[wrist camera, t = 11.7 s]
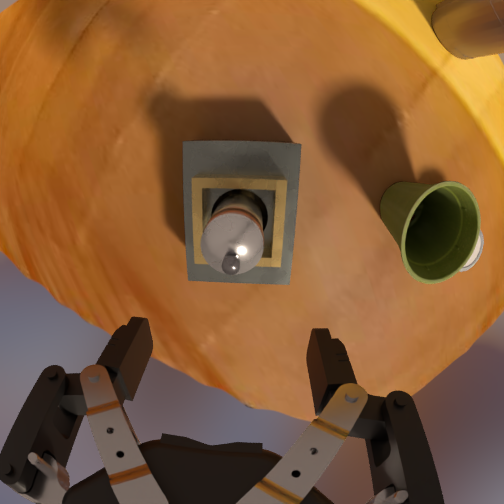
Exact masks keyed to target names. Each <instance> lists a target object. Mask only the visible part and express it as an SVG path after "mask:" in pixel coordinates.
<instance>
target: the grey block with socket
mask: <svg viewBox="0 0 504 504" xmlns="http://www.w3.org/2000/svg"><path fill="white" fill-rule="evenodd" d="M300 158H301V144H298V143H291V142H276V141H254V140H192V141H183V197H184V223H185V242H186V258H187V272H188V280H189V281H207V282H228V283H252V284H282V285H289V284H290V275H291V266H292V256H293V246H294V235H295V224H296V212H297V200H298V187H299V173H300ZM235 194H242V195H246V196H248V197H250V198H252V199H253V200H254V201H256V203H257V204H258V205H259V207H260V209H261V212H262V224H263V233H264V248H263V254H262V257H261V259H260V261H259V262H258V263H257V265H256V266H255V267H253V268H252V269H251V270H249V271H247V272H245V273H242V274H236V275H228V274H224V273H221V272H219V271H217V270H215V269H214V268H212V267H211V266H210V265H209V264H208V263H207V262H206V260H205V259H204V257H203V255H202V252H201V246H200V244H201V237H202V234H203V231H204V229H205V227H206V225H207V223H208V221H209V220H210V218H211V217H212V215H213V213H214V211H215V210H216V208H217V206H218V204H219V203H220V202H221V201H222V200H223V199H224V198H226V197H228V196H230V195H235Z"/></svg>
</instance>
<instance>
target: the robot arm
mask: <svg viewBox="0 0 504 504" xmlns="http://www.w3.org/2000/svg"><path fill="white" fill-rule="evenodd" d="M436 7H437V9H436V10H435V11H434V12H433V15H432V25H433V28H434V31H435V33H436V35H437V37H438V39H439V40H440V42H441V43H442V44H443V46H444V47H445V48H446V49H447V50H448V51H449V52H450V53H451V54H453V55H454V56H456V57H458V58H460V59H465V60H466V59H471V58H476V57H482V56H488V55H494V54H500V53H504V0H444V1H442V2H440V3H439V4H437V5H436ZM152 350H153V340H152V336H151V331H150V326H149V322H148V319H147V318H142V317H132V318H131V319H130V321H129V322H128V324H127V326H126V325H122V326H121V327H119V328H118V329H117V330H116V331H115V332H114V334H113V335H112V337H111V339H110V340H109V342H108V345H106V347H105V349H104V351H103V352H102V354H101V356H100V357H99V359H98V361H97V363H96V364H95V365H90V366H88V367H86V368H85V369H84V370H83V371H82V372H81V373H73V374H66V373H65V371H64V369H63V368H62V367H61V366H58V365H52V366H49V367H47V368H45V369H44V370H43V372H42V373H41V375H40V376H39V378H38V380H37V382H36V383H35V385H34V387H33V389H32V390H31V392H30V394H29V396H28V398H27V400H26V402H25V403H24V405H23V407H22V409H21V411H20V413H19V415H18V417H17V419H16V421H15V423H14V425H13V427H12V429H11V431H10V433H9V435H8V437H7V440H6V442H5V444H4V446H3V449H2V451H1V454H0V480H1V481H2V482H3V483H5V484H6V485H8V486H9V487H10V488H12V489H13V490H14V491H15V492H17V493H18V494H20V495H22V496H23V497H25V498H26V499H28V500H30V501H31V502H34V503H36V504H334V503H333V502H332V501H331V500H329V499H328V498H327V497H326V496H325V495H324V494H322V493H321V492H320V491H319V490H318V489H317V488H316V487H314V485H315V483H316V482H317V481H318V479H319V478H320V476H321V475H322V474H323V472H324V471H325V469H326V468H327V467H328V465H329V464H330V462H331V461H332V459H333V458H334V456H335V455H336V453H337V452H338V450H339V449H340V447H341V445H342V444H343V442H344V441H345V439H346V437H347V436H351V437H357V438H364V439H365V441H366V446H367V452H368V458H369V464H370V470H371V476H372V482H373V489H374V497H372V498H371V499H370V500H368V502H367V503H366V504H444V499H443V495H442V491H441V487H440V483H439V479H438V475H437V471H436V468H435V464H434V461H433V457H432V454H431V451H430V447H429V444H428V441H427V438H426V435H425V432H424V429H423V426H422V423H421V420H420V417H419V414H418V412H417V409H416V406H415V404H414V401H413V399H412V397H411V396H410V395H409V394H407V393H406V392H403V391H393V392H391V393H389V394H388V395H387V397H379V396H373V395H369V394H367V392H366V390H365V389H364V388H363V387H361V386H360V385H358V384H357V381H356V378H355V375H354V372H353V369H352V366H351V363H350V361H349V357H348V355H347V351H346V349H345V346H344V344H343V343H342V342H341V341H340V340H339V339H338V338H337V339H331V335H330V332H329V329H328V328H313V329H312V331H311V336H310V340H309V345H308V349H307V357H306V360H307V367H308V373H309V379H310V384H311V390H312V396H313V402H314V408H315V414H316V416H318V415H319V416H318V418H317V419H314V420H313V421H312V422H311V424H310V425H309V426H308V427H307V429H306V430H305V431H304V432H303V434H302V435H301V436H300V437H299V439H298V440H297V441H296V442H295V444H294V445H293V446H292V447H291V448H290V450H289V451H288V452H287V453H286V454H285V455H284V457H282V456H280V455H278V454H276V453H274V452H271V451H268V450H264V449H262V443H244V442H235V443H229V444H221V445H213V446H212V445H207V444H204V443H201V442H198V441H195V440H192V439H190V438H187V437H181V436H175V435H169V434H163V433H162V437H161V439H160V440H152V441H148V442H145V443H142V444H141V443H140V441H139V439H138V437H137V435H136V433H135V431H134V429H133V427H132V425H131V423H130V420H129V418H128V416H127V414H126V411H125V409H124V407H123V403H124V400H125V399H126V400H130V401H133V399H134V396H135V393H136V391H137V388H138V385H139V383H140V381H141V378H142V375H143V373H144V371H145V368H146V366H147V363H148V361H149V358H150V356H151V353H152ZM84 415H87V418H88V421H89V424H90V427H91V431H92V434H93V437H94V440H95V442H96V445H97V448H98V451H99V453H100V456H101V459H102V461H103V463H104V466H105V467H104V468H102V469H101V470H99V471H97V472H96V473H94V474H92V475H91V476H89V477H87V478H86V479H84V480H82V481H80V482H79V483H77V484H75V485H73V486H72V487H71V488H69V486H70V482H69V474H68V472H67V470H66V469H65V468H66V465H67V462H68V459H69V456H70V453H71V450H72V447H73V444H74V441H75V439H76V436H77V433H78V430H79V428H80V425H81V422H82V420H83V417H84Z"/></svg>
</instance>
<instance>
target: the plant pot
mask: <svg viewBox="0 0 504 504" xmlns="http://www.w3.org/2000/svg"><path fill="white" fill-rule="evenodd" d="M380 214H381V219H382V221H383V223H384V224H385V226H386V227H387V229H388V230H389V232H390V233H391V235H392V236H393V238H394V239H395V241H396V242H397V244H398V245H399V248H400V251H401V257H402V261H403V264H404V266H405V268H406V270H407V271H408V273H409V274H410V275H411V276H412V277H413V278H414V279H415V280H417V281H419V282H422V283H426V284H434V283H440V282H442V281H445V280H447V279H449V278H451V277H452V276H454V275H455V274H456V273H457V272H459V271H460V269H462V268H463V267H464V265H465V264H466V263H467V261H468V260H469V259H470V257H471V255H472V253H473V251H474V249H475V247H476V244H477V241H478V238H479V233H480V223H481V218H480V211H479V206H478V203H477V201H476V199H475V197H474V195H473V193H472V192H471V191H470V190H469V189H468V188H467V187H466V186H464V185H463V184H461V183H459V182H455V181H444V182H440V183H437V184H431V185H430V184H421V183H412V182H399V183H395V184H393V185H392V186H391V187H389V188H388V189H387V190H386V192H385V193H384V195H383V197H382V199H381V203H380ZM414 214H415V218H414V219H413V220H412V221H411V222H410V220H411V217H412V216H413V215H414Z"/></svg>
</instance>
